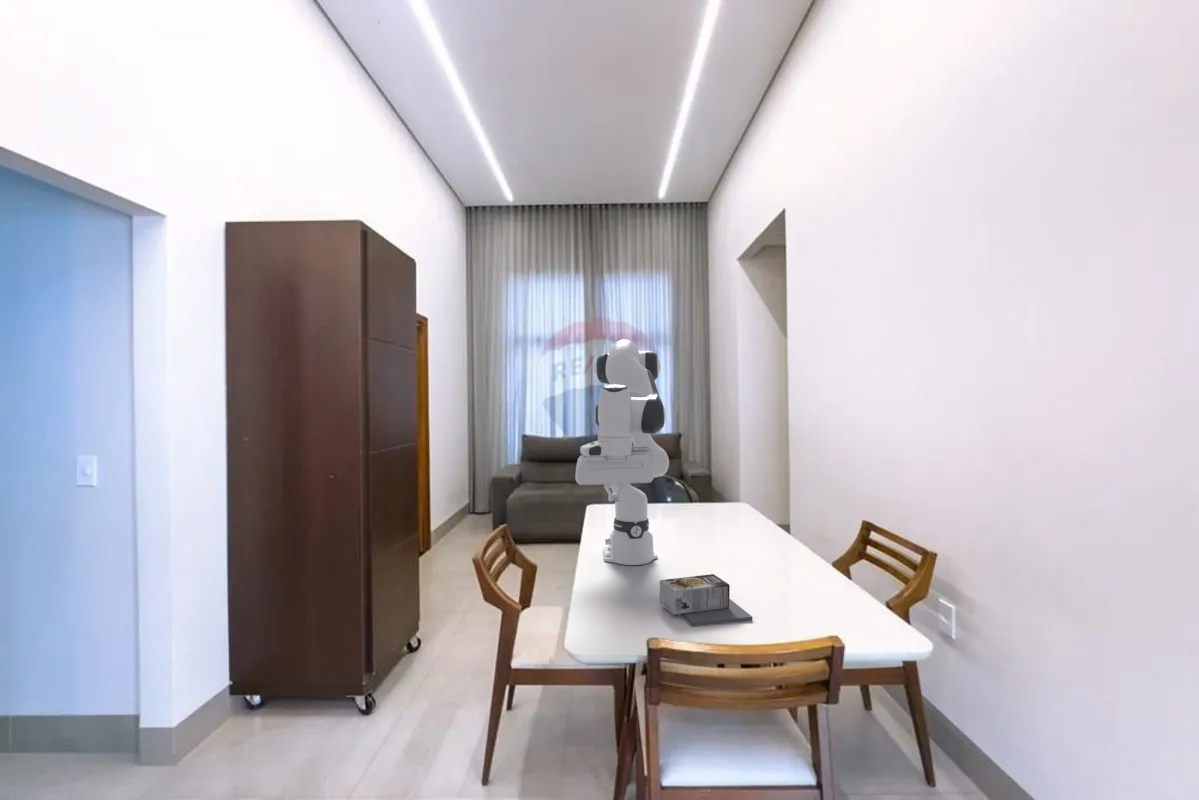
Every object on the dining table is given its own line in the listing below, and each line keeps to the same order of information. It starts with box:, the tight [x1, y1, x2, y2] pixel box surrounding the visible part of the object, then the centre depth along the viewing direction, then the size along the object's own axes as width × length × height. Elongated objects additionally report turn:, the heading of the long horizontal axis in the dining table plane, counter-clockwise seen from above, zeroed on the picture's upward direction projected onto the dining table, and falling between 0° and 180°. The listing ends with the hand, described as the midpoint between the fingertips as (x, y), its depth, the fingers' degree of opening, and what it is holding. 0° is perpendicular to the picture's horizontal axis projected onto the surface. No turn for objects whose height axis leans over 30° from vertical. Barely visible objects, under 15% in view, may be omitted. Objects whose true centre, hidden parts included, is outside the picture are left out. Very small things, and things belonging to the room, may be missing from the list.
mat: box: [680, 597, 753, 627], centre depth 143 cm, size 18×16×1 cm
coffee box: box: [658, 573, 731, 616], centre depth 143 cm, size 9×6×16 cm
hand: (614, 501), depth 140 cm, fingers closed
